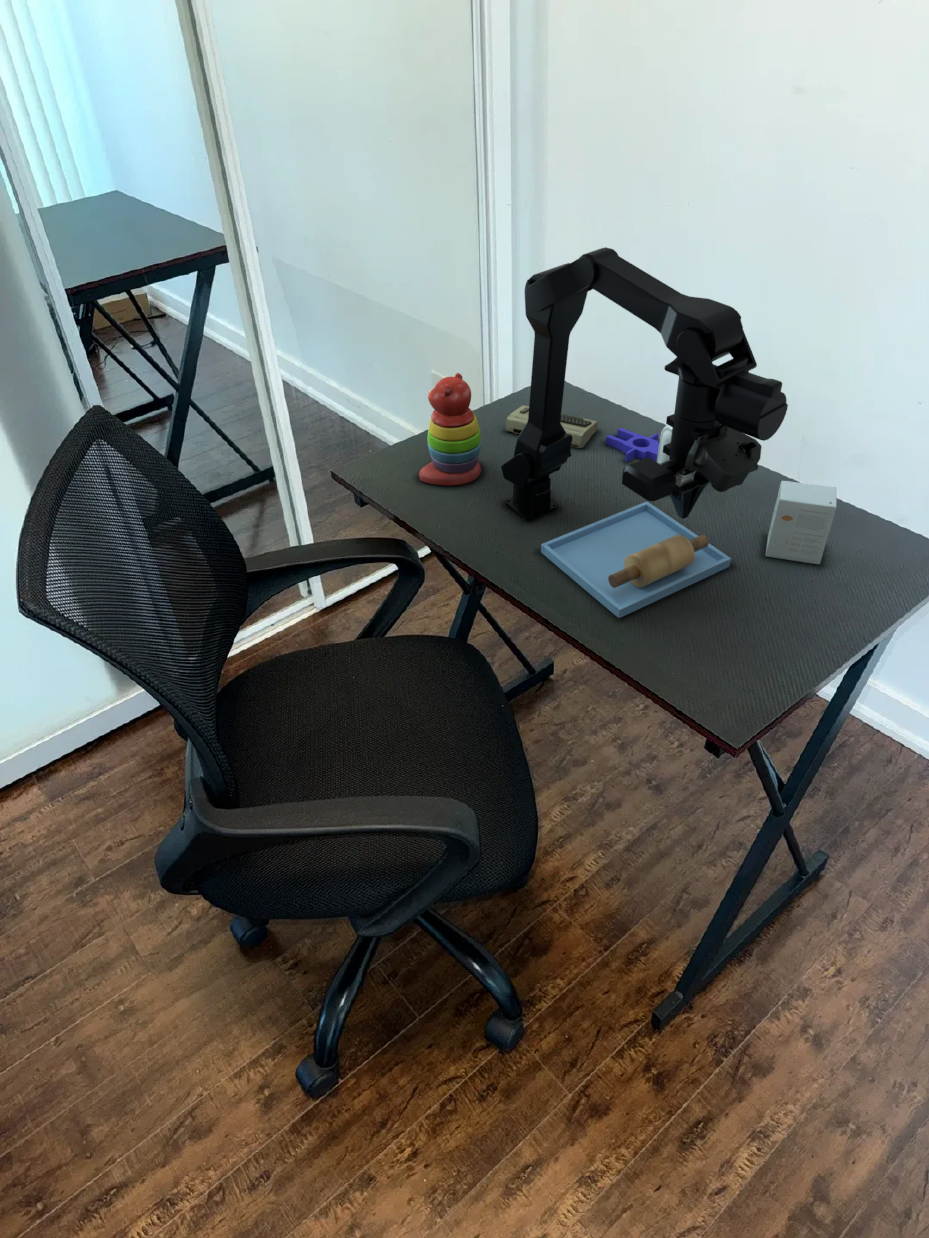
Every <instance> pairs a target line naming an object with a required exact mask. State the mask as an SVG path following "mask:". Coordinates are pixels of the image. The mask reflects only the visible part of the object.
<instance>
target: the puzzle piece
mask: <svg viewBox="0 0 929 1238" xmlns="http://www.w3.org/2000/svg"><path fill="white" fill-rule="evenodd" d="M659 436H660V434H659V433H658V432H656V433H654V434H653V435H651V436H650V437H649V436H645V435H643V434H640V433H635V432H632V431H630V430H627V429H625V428H623V427H619V428H618V429H617V432H616V436H614V435H611V434H608V435H606V438H605V439H606V440H605V445H607V446H609V447H611V448H614V449H617V450H619V451H621V453H624V454H625V455H624V462H626V463H627V462H630V460H632V459H634V458H636V459H639V460H643V459H646V458H648V457H649V458H651V459H652V460H654V461H656V462H657V456H658V449H659V442H660V440H659Z"/></svg>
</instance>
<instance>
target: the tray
mask: <svg viewBox="0 0 929 1238" xmlns="http://www.w3.org/2000/svg"><path fill="white" fill-rule="evenodd" d="M675 535H683V536H685V537H686V538H687V539H688V540H691V539H693V538H696V537H698V536H699V535H698V534H696V533H695V532H693V531H692V530H690V529H688V528H687V527H685V526H684V525H683V524H681V523H680V522H678V521H677V520H675V519H674V518H673V517H671V516H670V515H668V514H666V512H663V511H662V510H661V509H659V508H658V507H656V506H654V505H653V504H652V503H650V501H644V502H642V503H640V504H637V505H634V506H632V507H629V508H627V509H624V510H622V511H619V512H617V513H615V514H612V515H610V516H607V517H605V518H601V519H600V520H598V521H595V522H593V523H590V524H587V525H585V526H583V527H580V528H578V529H576V530H573V531H570V532H567V533H565V534H563V535H561V536H558V537H555V538H553V539H551V540H548V541H546V542H543V543H541V544H540V553H541V554H542V555H543V556H544V557H546V559H548V560H549V561H550V562H552V563H553V564H554V565H555V566H556V567H557V568H559V569H560V570H561V571H562V572H563V573H564V574H566V576H568V577H569V578H570V579H572V581H574V582H575V583H577V585H578V586H580V587H581V588H582V589H584V590H585V592H587V593H588V594H589V595H590V596H591V597H593V598H594V599H595V600H596V601H598V602H599V603H600V604H601V605H602V606H603V607H604V608H606V609H607V610H608V611H609V612H611V614H613V615H614V616H616V617H617V618H618V619H621V618H622V617H625V616H627V615H629V614H631V613H634V612H635V611H638V610H640V609H642V608H644V607H646V606H648V605H650V604H653V603H655V602H657V601H659V600H661V599H664V598H665V597H668V596H670V595H672V594H675V593H677V592H679V591H681V590H682V589H685V588H687V587H690V586H692V585H693V584H696V583H698V582H700V581H702V580H705V579H706V578H708V577H711V576H713V575H715V574H717V573H720V572H721V571H724V570H726V569H728V568H729V567H730V566H731V561H732V558H731V557H730V556H728V555H727V554H725V553H724V552H723V551H721V550H719V548H717V547H715V546H714V545H712V544H711V543H709V544H708V546H707V547H706V548H703V549H701V550H699V551H697V552H694V553H695V558H694V562H693V563H692V564H691V565H690V566H688V567H686V568H683V569H681V570H679V571H677V572H675V573H672V574H670V575H668V576H666V577H664V578H661V579H659V580H657V581H655V582H653V583H650V584H648V585H646V586H644V587H636V586H635V585H633V584H632V583H631V582H628V583H625V584H623V585H621V586H619V587H616V588H613V587H612V586H611V585H610V584H609V581H608V577H609V575H611V574H614V573H616V572H618V571H620V570H623V569H625V568H624V562H625V559H626V557H627V556H629V555H631V554H634V553H636V552H638V551H640V550H643V549H645V548H647V547H650V546H652V545H654V544H657V543H659V542H661V541H664V540H666V539H668V538H670V537H673V536H675Z"/></svg>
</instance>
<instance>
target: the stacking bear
mask: <svg viewBox="0 0 929 1238" xmlns="http://www.w3.org/2000/svg"><path fill="white" fill-rule="evenodd" d="M463 378H464V377H463V375H462V374H461V373H459V372H456V373H455V375H454V376H446V377H443V378H441V379H440V380H439V381H437V383H436V384H435V386H434V388H432V389H430V390H429V392H428V394H427V400H428V402H429V404H430V406H431V408H432V409H433V411H432V413H431V414H430V419H429V425H428V430H427V437H426V439H427V447H428V452H429V455H430V460H431V462H429V463H428V464H426V465H425V466H423V467H422V468H421V469H420V471H419V473H418V478H419V480H420V481H422V482H423V483H426V484H430V485H436V486H461V485H465V484H468V483H471V482H473V481H476V479H477V478H478V477H479V476H480V475H481V471H482V467H481V464H480V462H479V458H480V452H481V448H482V433H481V429H480V426H479V425H480V424H479V421H478V418H477V416H476V414H475V413H474V412H473V410H472V409H471V408H470V405H471V402H472V390H471V387H470V385H469V384H468V383H467V381H465V380H464V379H463Z"/></svg>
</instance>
